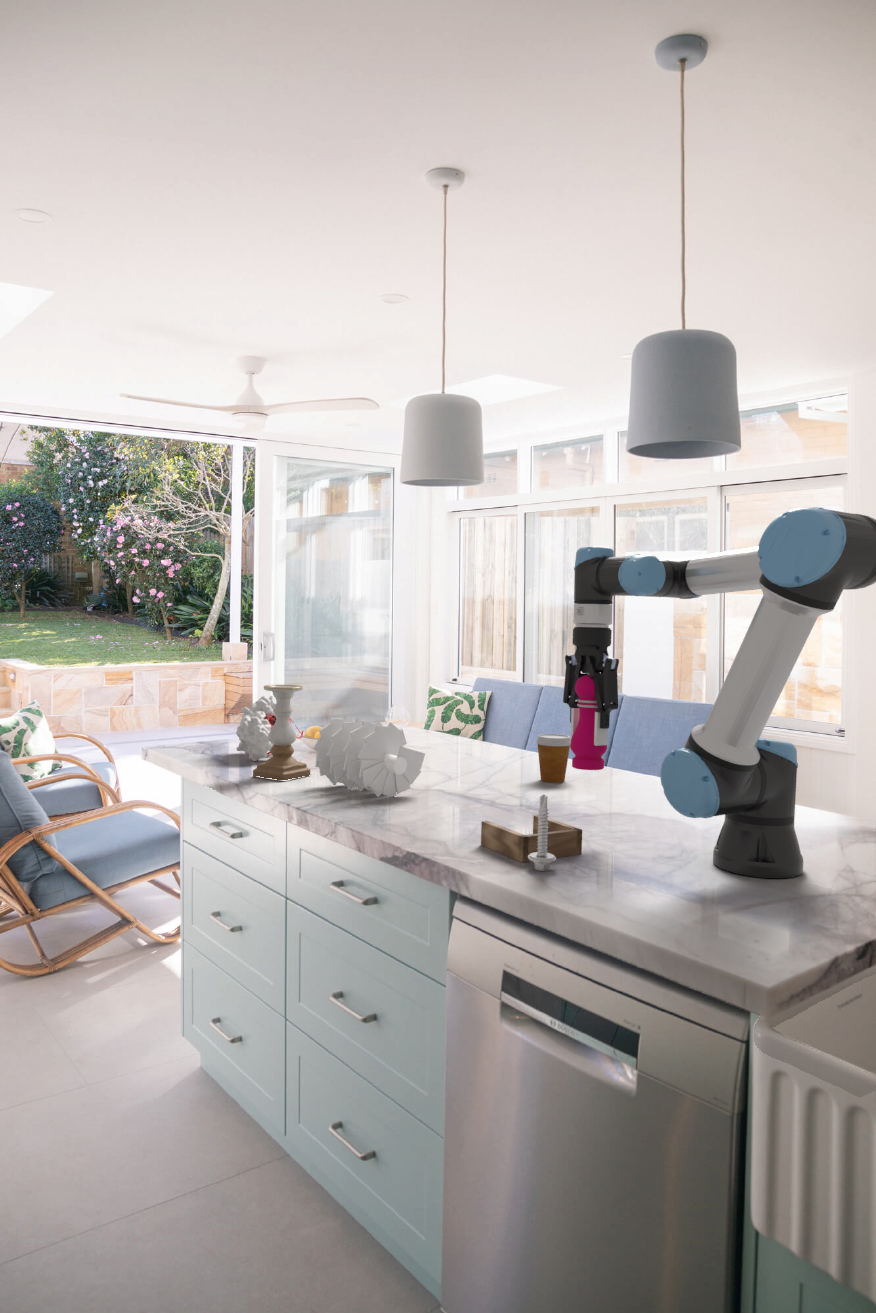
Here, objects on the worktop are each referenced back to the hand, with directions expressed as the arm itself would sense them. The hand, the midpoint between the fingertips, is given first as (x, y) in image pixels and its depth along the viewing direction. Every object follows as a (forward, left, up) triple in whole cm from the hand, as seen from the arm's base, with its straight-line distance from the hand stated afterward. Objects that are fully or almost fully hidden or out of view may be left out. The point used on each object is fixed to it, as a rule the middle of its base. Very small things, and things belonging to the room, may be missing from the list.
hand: (588, 742), depth 175 cm
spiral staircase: (+59, +20, -19) cm, 65 cm away
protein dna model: (+117, +25, -19) cm, 121 cm away
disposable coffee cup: (+52, -32, -19) cm, 64 cm away
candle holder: (+85, +32, -19) cm, 93 cm away
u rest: (-3, +16, -19) cm, 25 cm away
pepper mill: (0, 0, -5) cm, 5 cm away
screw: (-14, +22, -19) cm, 32 cm away
